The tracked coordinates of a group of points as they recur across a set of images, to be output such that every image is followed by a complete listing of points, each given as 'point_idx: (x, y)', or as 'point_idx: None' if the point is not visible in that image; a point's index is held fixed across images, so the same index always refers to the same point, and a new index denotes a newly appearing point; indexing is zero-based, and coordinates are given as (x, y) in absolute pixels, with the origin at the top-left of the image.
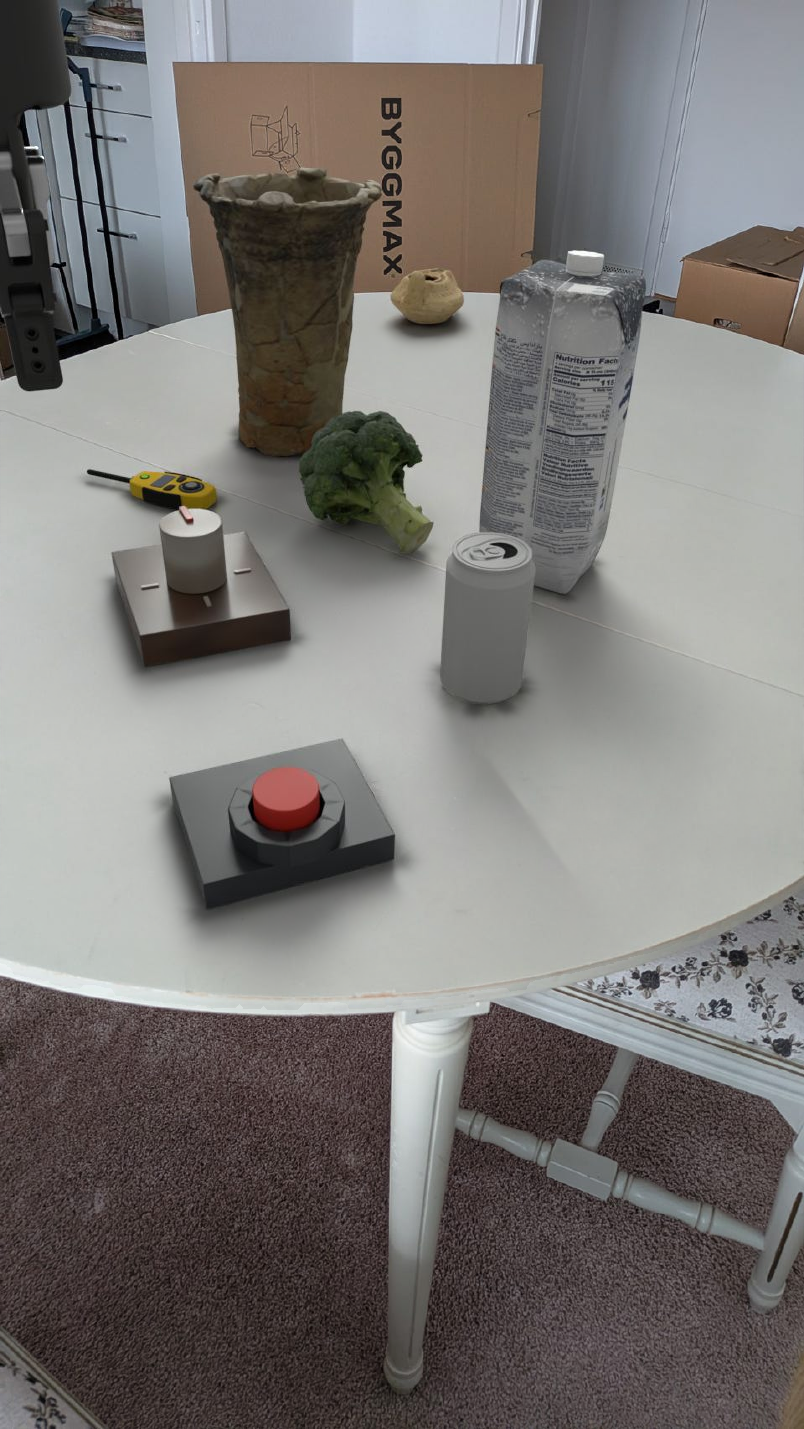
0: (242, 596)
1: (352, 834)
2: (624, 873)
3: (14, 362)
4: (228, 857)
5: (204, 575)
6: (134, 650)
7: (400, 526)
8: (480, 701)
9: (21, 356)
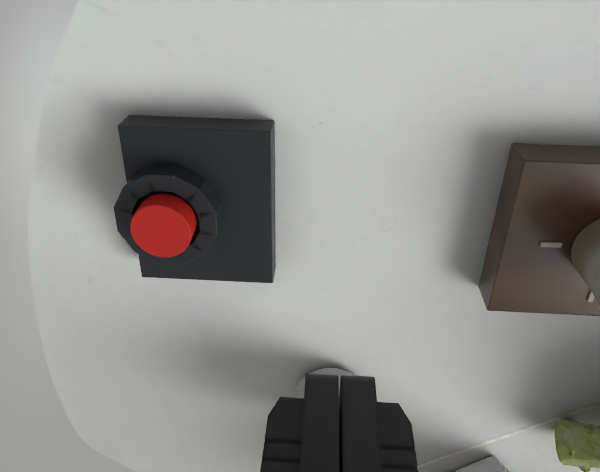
0: (539, 278)
1: None
2: (103, 376)
3: (304, 422)
4: (145, 154)
5: (580, 261)
6: (553, 139)
7: (574, 442)
8: (299, 382)
9: (264, 455)
